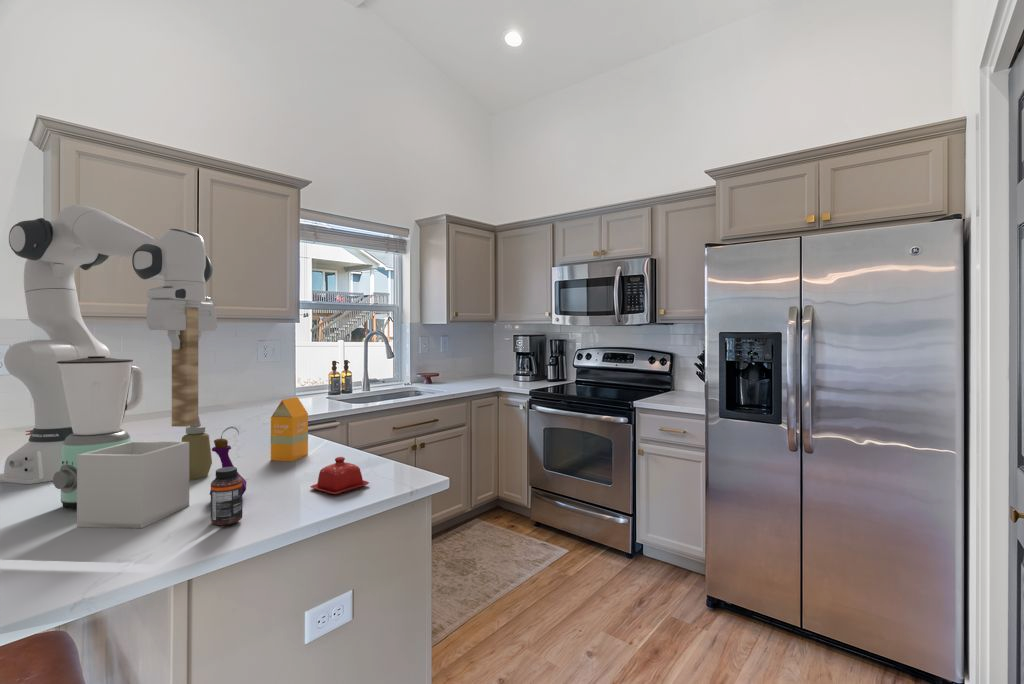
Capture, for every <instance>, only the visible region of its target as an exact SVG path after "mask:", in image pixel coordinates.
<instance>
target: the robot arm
mask: <svg viewBox="0 0 1024 684" xmlns="http://www.w3.org/2000/svg"><path fill="white" fill-rule="evenodd" d="M8 245H9V247H10V248H11V250H12V252H13V253H14V254H15V255H16V256H18V257H20V258H23V259H26V261H25V263H24V269H23V289H24V290H23V291H24V297H25V304H26V309H27V315H28V316H27V317H28V319H29V321H30V322H31V323H32V324H33V325H34V326H37V327H39V328H40V329H41V330H43V331H44V332H45V333H46V334H47V336H48V337H49V338H50V339H31V340H27V341H22V342H17V343H14V344H11V346H9V348H8V349H7V350H6V351H5V354H4V356H3V364H4V367H5V369H6V371H7V372H8V373H9V374H10V375H11V376H13V377H14V378H16V379H18V380H19V381H20V382H22V383H23V384H24V385H25V387H26V388H27V389H28V391H29V393H30V395H31V397H32V402H33V407H34V410H33V411H34V427H33V429H31V430H25V433H26V434H25V436H29V438H28V440H27V441H28V442H26V443H25V444H24V445H21V447H20V448H18V449H17V450H15V451H13V453H10V455H8V456H7V458H6V459H5V461H4V469H3V472H2V473H0V483H1V482H4V483H11V484H13V483H14V484H21V485H33V484H40V483H45V482H53V476H54V474H55V473H56V472H58V471H60V468H61V449H62V444H63V442H64V441H65V439H66V437H68V436H69V435H70V434H73V430H72V426H71V421H70V416H69V412H68V407H67V402H66V397H65V392H64V387H63V382H62V376H61V370H60V368H59V365H58V364H57V362H58V361H66V360H75V359H81V358H88V356H106V357H105V358H112V357H111V351H110V350H109V348H108V347H107V345H106V344H104V343H103V342H101V341H100V340H98V339H97V338H96V337H95V336H94V335H93V334H92V332H91V331H90V330H89V327H87V325H86V324H85V323H86V322H85V321H84V319H83V316H82V314H81V309H80V308H81V307H80V304H79V303H80V302H79V298H78V297H79V296H78V291H77V286H76V282H75V271H76V270H77V269H78V268H80V269H81V270H84V271H88V270H90V269H91V268H92V267H96V266H99V265H101V264H103V263H105V261H107V260H108V259H109V258H110V257H115V258H116V257H119V258H124V259H125V258H128V259H132V260H131V261H132V262H131V263H132V268H133V271H134V272H135V273H136V275H137V276H138V277H139V279H142V280H146V281H148V282H153V283H154V282H156V283H163V285H160V286H157V287H153V288H149V289H148V290H146V297H147V298H148V299H150V300H148V301H147V305H146V324H147V327H148V328H149V330H151V331H167V337H168V339H169V340H170V343H171V350H172V349H182V348H183V346H182V345H183V342H180V339H179V336H178V335H180V330H182V331H185V330H186V315H185V308H186V307H194V308H198V342H199V341H200V339H201V337H202V332H215V331H216V330H217V328H218V320H217V319H218V317H217V310H216V307H215V305H214V302H213V301H212V300H211V297H208V296H206V295H207V293H206V291H207V290H206V289H207V288H206V285H207V284H206V283H207V282H208V281H209V280H210V279H211V277H212V275H213V270H214V269H213V265H212V262H211V260H210V258H209V256H208V255H207V254H206V247H205V246H206V245H205V242H204V239H203V236H201V235H200V234H199V233H196V232H194V231H188V230H184V229H179V228H168V229H167V230H166V231H165V232H164V234H163V236H161V237H160V238H156V237H153V236H151V235H149V234H147V233H145V232H144V231H142V230H140V229H138V228H136V227H135V226H132V225H130V224H129V223H126V222H125V221H123V220H121V219H119V218H117V217H115V216H114V215H112V214H110V213H107V212H106V211H103V210H101V209H98V208H95V207H92V206H90V205H83V204H71V205H67V206H65V207H63V209H61V210H60V211H59V213H58V216H57V219H56V220H51V221H50V220H47V219H45V218H43V217H40V218H36V219H30V220H22V221H19V222H17V223H15V224H14V225H13V226H12V227H11V228H10V230H9V234H8Z"/></svg>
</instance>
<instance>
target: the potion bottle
mask: <svg viewBox="0 0 1024 684" xmlns="http://www.w3.org/2000/svg"><path fill="white" fill-rule="evenodd" d="M230 429H235V431H236V432H237V435H240V431H239V429H238V428H237V427H235V426H233V425H232V426H228V427H227V428H225V429H224V430H223V431H222V433H221V436H220V438H216V439H215V440H213V443H214V444H213V445H214V447H212V448H211V452H215V454H216V455H217V456H218V457H219V459H220V463H221V468H223V467H235V466H234V464H233V462H232V460H231V458H230V456H229V451H230V450H231V449H232V446H231V445H228V444H229V441H228V439H226V438H223V435H224V433H225V432H226V431H228V430H230ZM237 475H238V477H240V478H241V479H242V496H244V494H245V493H246V491H247V480H246V479H245V478H243V476H242V475H241V474H240V473H239V472H238V471H237ZM209 495H210V496H211V489H210V491H209Z"/></svg>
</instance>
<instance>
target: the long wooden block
mask: <svg viewBox="0 0 1024 684" xmlns="http://www.w3.org/2000/svg"><path fill="white" fill-rule="evenodd" d="M185 315H186V330H185V331H182V330H180V335H178V336H179V339H180V342H183V345H182V346H183V348H182V349H172V348H171V427H179V428H180V427H185V428H186V427H190V426H192V425H196V424H198V416H199V341H198V308H194V307H186V308H185Z"/></svg>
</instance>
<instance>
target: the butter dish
mask: <svg viewBox="0 0 1024 684" xmlns="http://www.w3.org/2000/svg"><path fill="white" fill-rule="evenodd" d="M345 461H346V457H345V456H337V457H335V458H334V462H335V463H331V464H329V465H327V466H324V467H323V468H321V469H320V470H319V474H318V477H317V483H316V484H312V485H310V486H309V487H310V489H313V490H318V491H321V492H325V493H327V494H332V495H339V493H340V494H343V493H342V492H344V493H346V492H345V491H347V492H349V491H348V490H350V491H352V489H353V490H356V489H355V488H357V489H359V488H358V487H360V488H361V487H364V486H367V485H368V484H369V483H370V482H369V481H367V480H364V479H363V475H362V471H361V468H360V467H359V466H358V465H356V464H354V463H350V462H345Z"/></svg>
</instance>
